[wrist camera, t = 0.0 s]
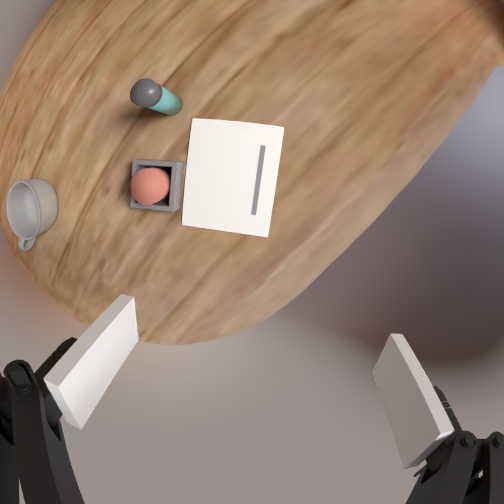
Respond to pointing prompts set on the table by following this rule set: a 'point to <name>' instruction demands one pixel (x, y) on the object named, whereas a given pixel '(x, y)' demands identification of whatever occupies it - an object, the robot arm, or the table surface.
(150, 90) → the marker
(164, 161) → the button housing
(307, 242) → the table surface
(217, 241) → the table surface
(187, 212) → the paper
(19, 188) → the teacup
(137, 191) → the button
